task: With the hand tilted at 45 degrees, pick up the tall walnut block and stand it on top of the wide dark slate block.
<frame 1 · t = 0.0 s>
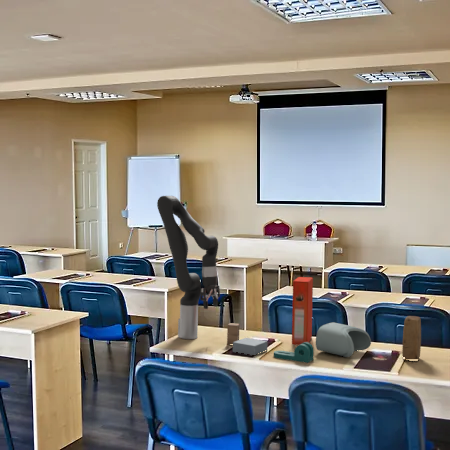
hand: (210, 307, 327), 17 cm above the table, tool pointing down, fingers open, 8 cm apart
block: (411, 359, 301), on the table
grey hollow scoop: (343, 353, 310), on the table
slate block: (250, 352, 309), on the table
file binder: (301, 341, 333), on the table
bracket: (292, 359, 298), on the table
walnut block: (233, 344, 323), on the table
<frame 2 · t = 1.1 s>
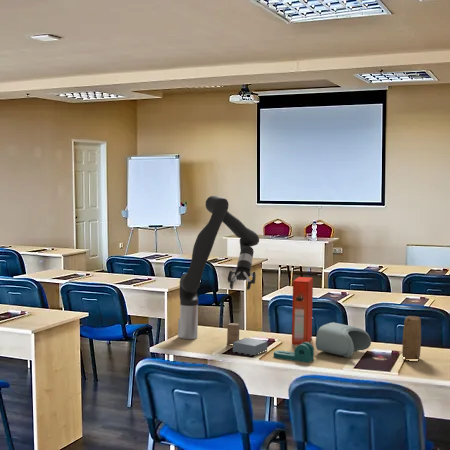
hand: (239, 288, 332), 26 cm above the table, tool tilted 45°, fingers open, 8 cm apart
nothing on the table moved.
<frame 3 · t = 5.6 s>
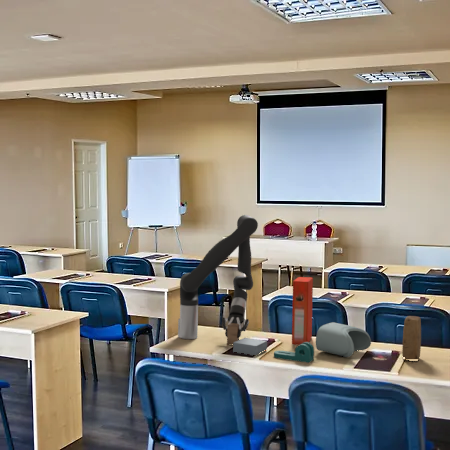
hand: (232, 336, 321), 4 cm above the table, tool tilted 45°, fingers closed on walnut block, 5 cm apart
walnut block: (233, 344, 323), on the table, touching gripper
everything else where it was.
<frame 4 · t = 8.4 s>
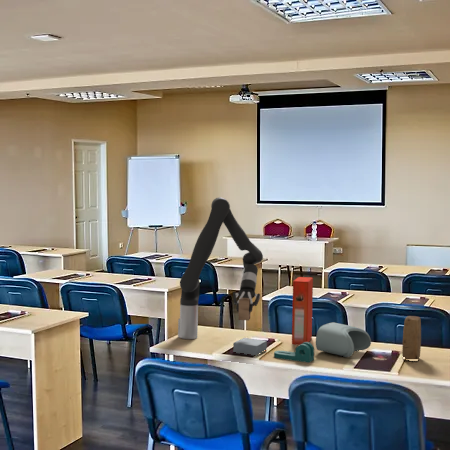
hand: (244, 311, 313), 18 cm above the table, tool tilted 45°, fingers closed on walnut block, 5 cm apart
walnut block: (244, 319, 315), point 14 cm above the table, touching gripper
everything else where it was.
when the fingers open (11 cm above the table, at t = 11.5 s): walnut block drops 2 cm, point 5 cm above the table.
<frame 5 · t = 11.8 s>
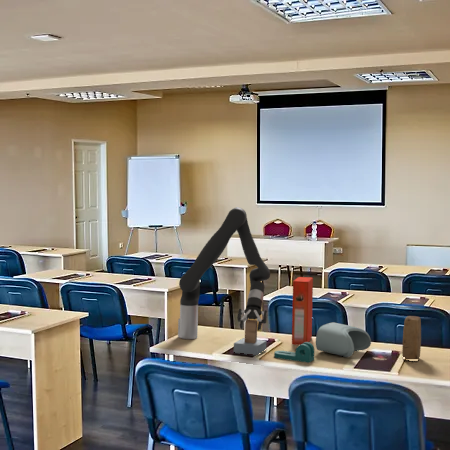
hand: (250, 329, 307), 11 cm above the table, tool tilted 45°, fingers open, 7 cm apart
walnut block: (250, 341, 309), point 5 cm above the table
everything else where it was.
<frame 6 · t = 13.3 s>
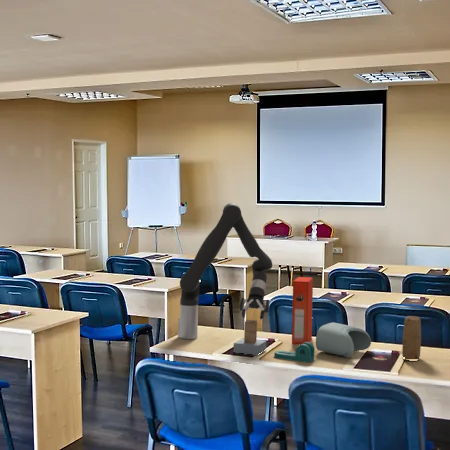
hand: (252, 317, 312), 15 cm above the table, tool tilted 45°, fingers open, 8 cm apart
nothing on the table moved.
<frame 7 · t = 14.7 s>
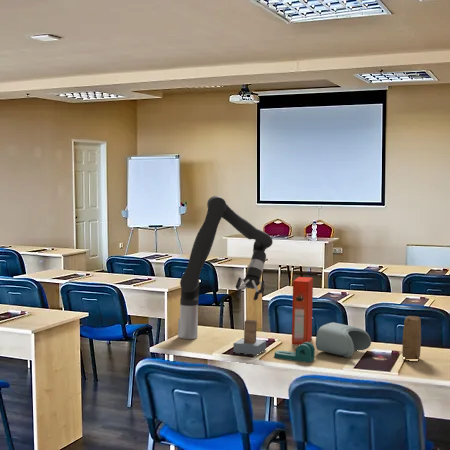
hand: (246, 298, 321), 23 cm above the table, tool tilted 35°, fingers open, 8 cm apart
slate block: (249, 352, 309), on the table, touching walnut block
walnut block: (250, 341, 309), point 5 cm above the table, touching slate block
everything else where it was.
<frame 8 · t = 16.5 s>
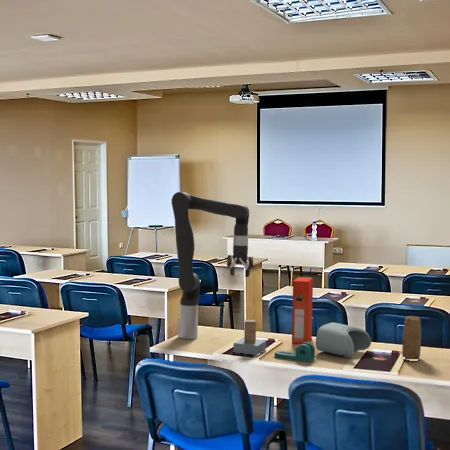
hand: (239, 276, 329), 33 cm above the table, tool pointing down, fingers open, 8 cm apart
nothing on the table moved.
at the end: walnut block inside the target area on the slate block (0.2 cm from its centre), point 5.0 cm above the slate block's base; walnut block tilted 1°; the gripper is holding nothing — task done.
